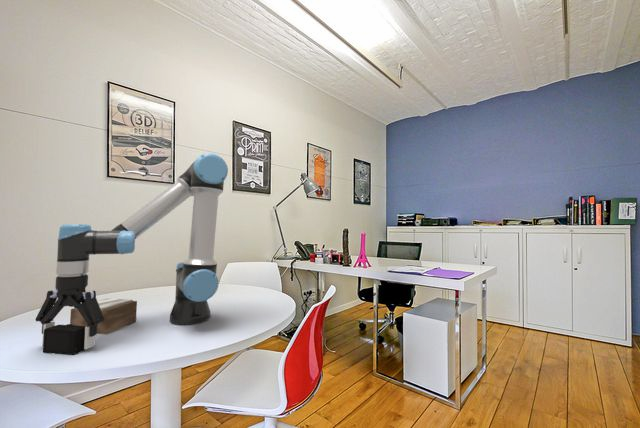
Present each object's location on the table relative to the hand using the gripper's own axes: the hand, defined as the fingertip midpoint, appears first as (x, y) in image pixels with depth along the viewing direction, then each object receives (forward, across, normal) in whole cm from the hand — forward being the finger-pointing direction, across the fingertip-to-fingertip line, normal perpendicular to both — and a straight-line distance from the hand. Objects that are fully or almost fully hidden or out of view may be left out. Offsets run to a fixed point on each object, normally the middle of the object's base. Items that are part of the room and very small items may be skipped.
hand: (68, 346), depth 88 cm
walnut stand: (+1, +6, -20) cm, 21 cm away
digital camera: (+1, 0, 0) cm, 1 cm away
